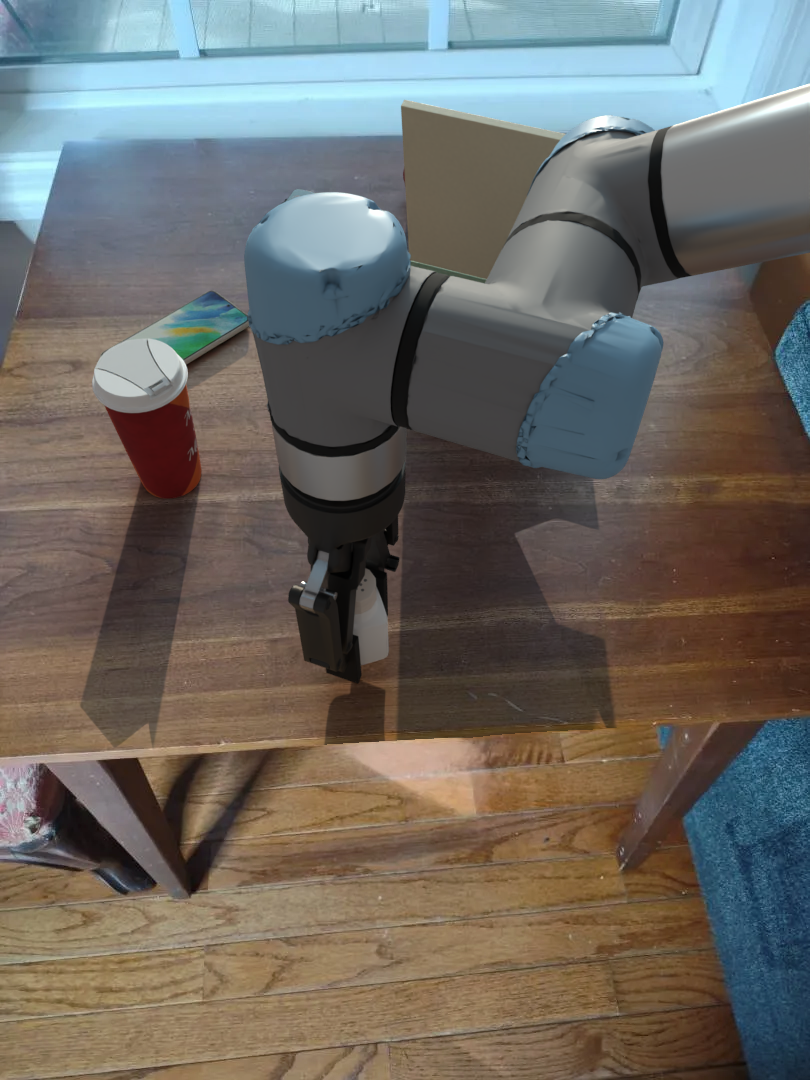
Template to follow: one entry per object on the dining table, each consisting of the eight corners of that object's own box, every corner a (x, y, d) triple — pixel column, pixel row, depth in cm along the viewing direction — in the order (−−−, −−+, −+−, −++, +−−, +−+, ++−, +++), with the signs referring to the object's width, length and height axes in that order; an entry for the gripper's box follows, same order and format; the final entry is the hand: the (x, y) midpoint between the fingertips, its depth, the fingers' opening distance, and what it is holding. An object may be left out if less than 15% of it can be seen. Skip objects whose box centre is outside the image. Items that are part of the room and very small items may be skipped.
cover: (404, 99, 66) (400, 106, 66) (577, 135, 63) (574, 143, 63) (411, 254, 81) (409, 260, 81) (552, 289, 78) (550, 295, 78)
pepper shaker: (376, 618, 71) (372, 554, 63) (391, 659, 69) (388, 598, 61) (329, 631, 71) (320, 568, 63) (342, 673, 68) (334, 613, 61)
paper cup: (229, 476, 81) (203, 367, 70) (162, 522, 78) (123, 416, 66) (180, 431, 84) (147, 319, 73) (113, 473, 81) (67, 364, 70)
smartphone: (96, 354, 89) (212, 287, 95) (98, 360, 89) (213, 294, 96) (137, 390, 86) (254, 318, 92) (139, 396, 86) (255, 325, 93)
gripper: (342, 340, 56) (357, 543, 75) (212, 558, 46) (267, 727, 66) (451, 369, 55) (438, 568, 74) (341, 600, 45) (359, 761, 64)
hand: (357, 643), depth 70 cm, fingers closed on pepper shaker, 5 cm apart
